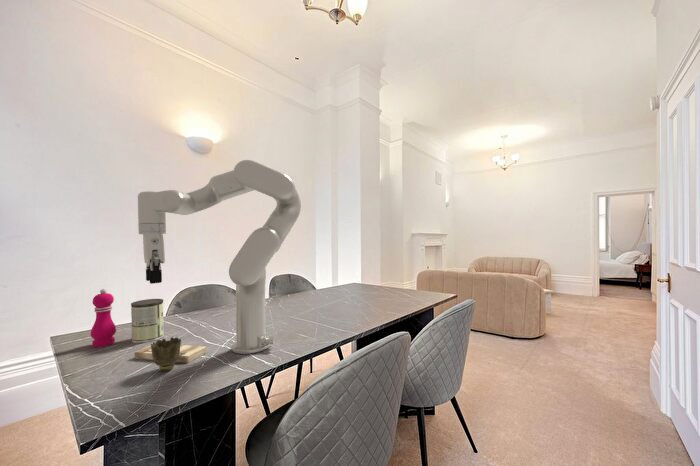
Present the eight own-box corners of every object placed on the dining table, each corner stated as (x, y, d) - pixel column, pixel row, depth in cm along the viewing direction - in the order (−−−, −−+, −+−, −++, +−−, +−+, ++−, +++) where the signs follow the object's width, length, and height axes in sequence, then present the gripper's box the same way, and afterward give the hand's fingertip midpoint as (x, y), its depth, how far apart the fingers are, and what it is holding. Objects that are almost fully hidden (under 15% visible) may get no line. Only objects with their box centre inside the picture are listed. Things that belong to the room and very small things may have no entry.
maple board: (206, 352, 98) (206, 346, 98) (188, 362, 90) (188, 355, 90) (156, 349, 103) (156, 342, 103) (134, 358, 95) (134, 351, 95)
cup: (148, 377, 81) (148, 347, 81) (153, 366, 88) (153, 339, 88) (179, 371, 84) (179, 343, 84) (182, 362, 91) (182, 335, 91)
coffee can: (129, 338, 114) (128, 301, 115) (160, 332, 122) (159, 297, 122) (134, 345, 107) (133, 305, 107) (167, 338, 114) (166, 300, 115)
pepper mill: (85, 346, 107) (85, 290, 107) (108, 339, 114) (108, 286, 114) (98, 348, 104) (97, 291, 105) (120, 341, 111) (120, 287, 111)
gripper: (170, 228, 94) (171, 282, 94) (161, 230, 108) (163, 278, 108) (141, 228, 90) (142, 285, 89) (136, 230, 103) (137, 280, 103)
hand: (153, 281), depth 99 cm, fingers open, 9 cm apart
